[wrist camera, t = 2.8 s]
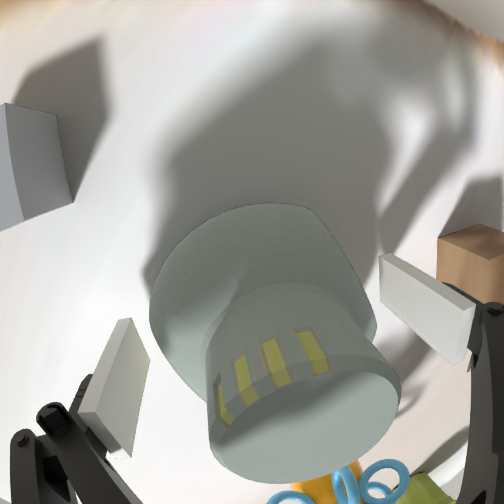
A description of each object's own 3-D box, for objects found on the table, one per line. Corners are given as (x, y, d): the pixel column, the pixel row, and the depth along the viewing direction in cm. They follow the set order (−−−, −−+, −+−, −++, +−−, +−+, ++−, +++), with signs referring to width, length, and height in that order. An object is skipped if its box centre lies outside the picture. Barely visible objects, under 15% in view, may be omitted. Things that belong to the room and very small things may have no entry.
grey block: (56, 115, 12) (4, 102, 7) (74, 202, 14) (24, 220, 9) (-5, 149, 12) (-60, 151, 7) (10, 227, 13) (-41, 251, 9)
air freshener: (357, 321, 18) (448, 429, 9) (248, 387, 18) (279, 520, 9) (270, 168, 15) (377, 183, 5) (137, 258, 15) (60, 386, 5)
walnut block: (479, 224, 18) (527, 241, 13) (475, 282, 19) (516, 307, 15) (436, 237, 17) (488, 260, 13) (433, 302, 19) (477, 333, 14)
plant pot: (377, 490, 28) (400, 533, 20) (435, 456, 28) (462, 495, 20) (383, 503, 31) (401, 540, 23) (432, 475, 31) (454, 508, 23)
